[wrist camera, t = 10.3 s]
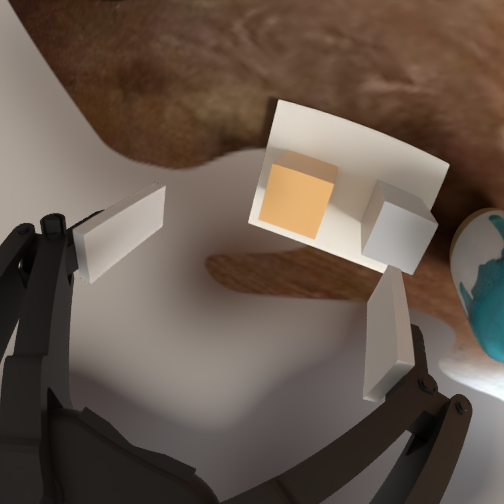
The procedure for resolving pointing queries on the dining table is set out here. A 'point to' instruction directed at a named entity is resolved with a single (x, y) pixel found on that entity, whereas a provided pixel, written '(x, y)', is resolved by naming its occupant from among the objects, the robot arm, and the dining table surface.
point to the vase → (481, 276)
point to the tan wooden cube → (298, 193)
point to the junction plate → (360, 188)
